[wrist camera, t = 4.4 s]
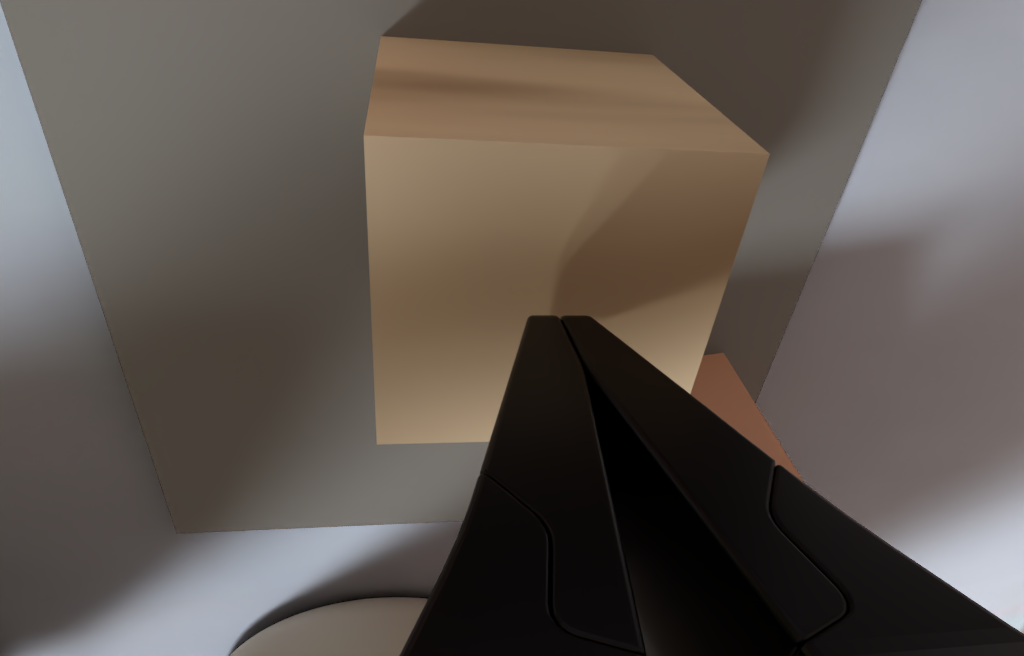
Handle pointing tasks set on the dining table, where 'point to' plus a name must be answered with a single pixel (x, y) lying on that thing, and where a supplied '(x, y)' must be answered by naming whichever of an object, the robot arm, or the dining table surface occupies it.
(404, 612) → the cylinder vase
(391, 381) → the plain block
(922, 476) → the dining table surface
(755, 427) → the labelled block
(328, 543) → the dining table surface
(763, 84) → the mat
